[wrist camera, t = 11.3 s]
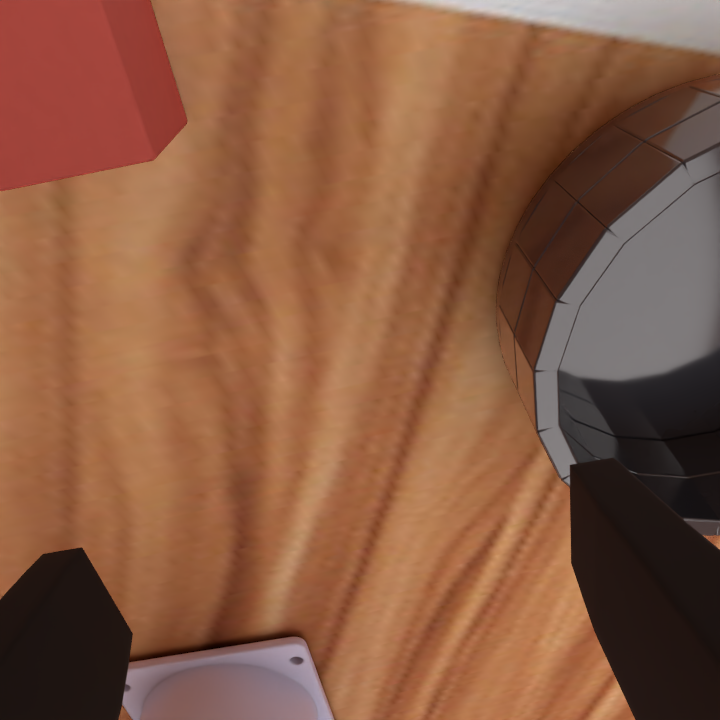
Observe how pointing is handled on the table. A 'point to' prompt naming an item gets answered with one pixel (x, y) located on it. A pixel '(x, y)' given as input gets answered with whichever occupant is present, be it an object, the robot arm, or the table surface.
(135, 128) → the brick red cuboid
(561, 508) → the table surface
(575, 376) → the pot
